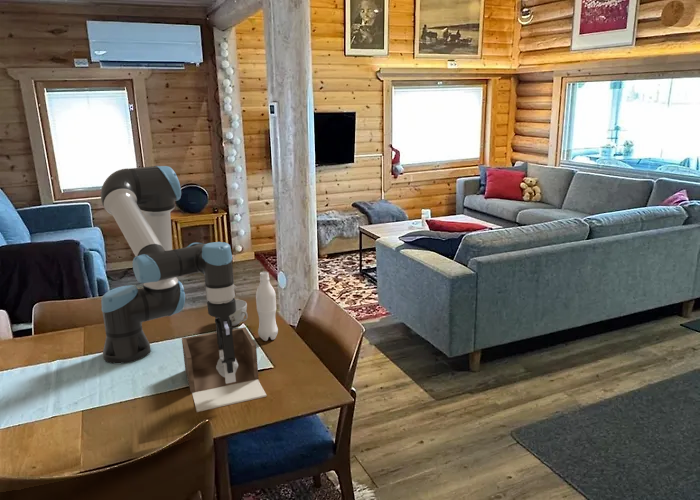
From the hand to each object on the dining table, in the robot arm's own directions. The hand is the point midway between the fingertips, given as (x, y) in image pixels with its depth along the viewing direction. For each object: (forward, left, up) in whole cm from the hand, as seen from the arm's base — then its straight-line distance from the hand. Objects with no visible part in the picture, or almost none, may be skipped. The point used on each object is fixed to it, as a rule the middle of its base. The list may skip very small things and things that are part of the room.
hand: (228, 376), depth 150 cm
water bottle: (+21, +39, -8) cm, 45 cm away
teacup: (+12, +58, -8) cm, 60 cm away
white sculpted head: (0, 0, -1) cm, 1 cm away
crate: (0, +15, -8) cm, 17 cm away
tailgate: (0, +7, -7) cm, 10 cm away
